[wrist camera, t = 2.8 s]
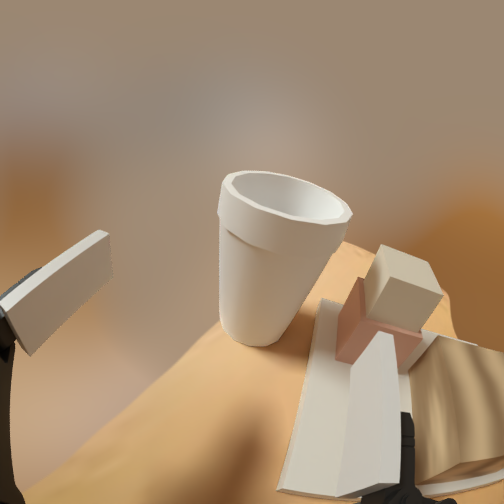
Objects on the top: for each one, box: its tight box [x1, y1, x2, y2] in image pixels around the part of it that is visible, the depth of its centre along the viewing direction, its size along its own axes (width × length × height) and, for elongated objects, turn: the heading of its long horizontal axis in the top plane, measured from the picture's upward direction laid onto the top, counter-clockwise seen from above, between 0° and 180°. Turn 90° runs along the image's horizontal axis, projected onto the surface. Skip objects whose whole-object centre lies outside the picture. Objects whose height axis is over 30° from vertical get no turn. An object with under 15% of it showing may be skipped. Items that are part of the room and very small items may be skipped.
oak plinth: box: [408, 335, 504, 485], centre depth 14 cm, size 12×12×5 cm
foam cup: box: [217, 171, 353, 346], centre depth 22 cm, size 10×9×13 cm
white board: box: [276, 298, 504, 501], centre depth 19 cm, size 24×20×2 cm
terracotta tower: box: [335, 244, 444, 369], centre depth 21 cm, size 6×6×9 cm
